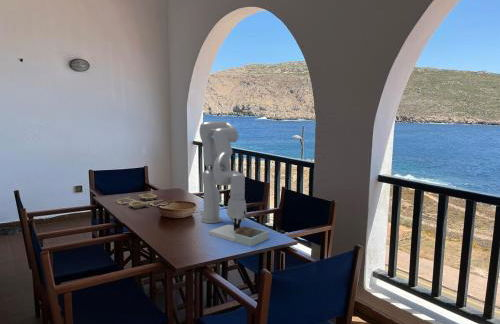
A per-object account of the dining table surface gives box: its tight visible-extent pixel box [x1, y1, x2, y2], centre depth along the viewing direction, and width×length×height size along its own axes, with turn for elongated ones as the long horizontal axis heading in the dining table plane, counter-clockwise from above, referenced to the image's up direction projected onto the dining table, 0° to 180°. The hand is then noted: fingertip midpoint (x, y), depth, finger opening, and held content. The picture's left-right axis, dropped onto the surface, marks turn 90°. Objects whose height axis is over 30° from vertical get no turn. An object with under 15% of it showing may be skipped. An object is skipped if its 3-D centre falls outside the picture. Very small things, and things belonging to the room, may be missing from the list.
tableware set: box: [115, 192, 164, 209], centre depth 267 cm, size 35×29×4 cm
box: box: [234, 227, 270, 247], centre depth 194 cm, size 10×15×4 cm
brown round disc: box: [236, 225, 254, 237], centre depth 197 cm, size 7×7×3 cm
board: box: [208, 224, 236, 243], centre depth 203 cm, size 18×16×2 cm
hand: (236, 230), depth 200 cm, fingers closed
